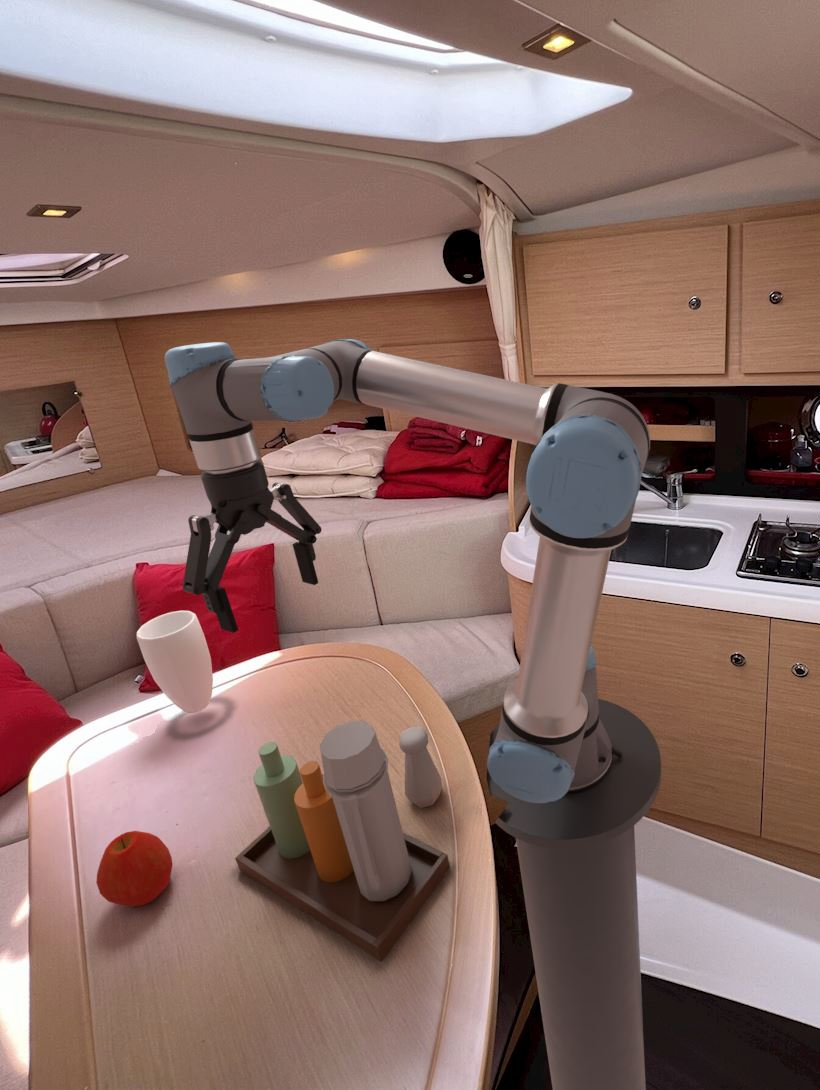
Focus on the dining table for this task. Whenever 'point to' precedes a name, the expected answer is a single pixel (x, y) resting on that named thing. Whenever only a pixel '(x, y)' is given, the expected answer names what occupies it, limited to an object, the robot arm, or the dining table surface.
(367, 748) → the water bottle
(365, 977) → the dining table surface
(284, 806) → the sage bottle
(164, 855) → the apple
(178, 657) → the cup
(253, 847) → the tray
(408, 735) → the salt shaker
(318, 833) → the amber bottle
